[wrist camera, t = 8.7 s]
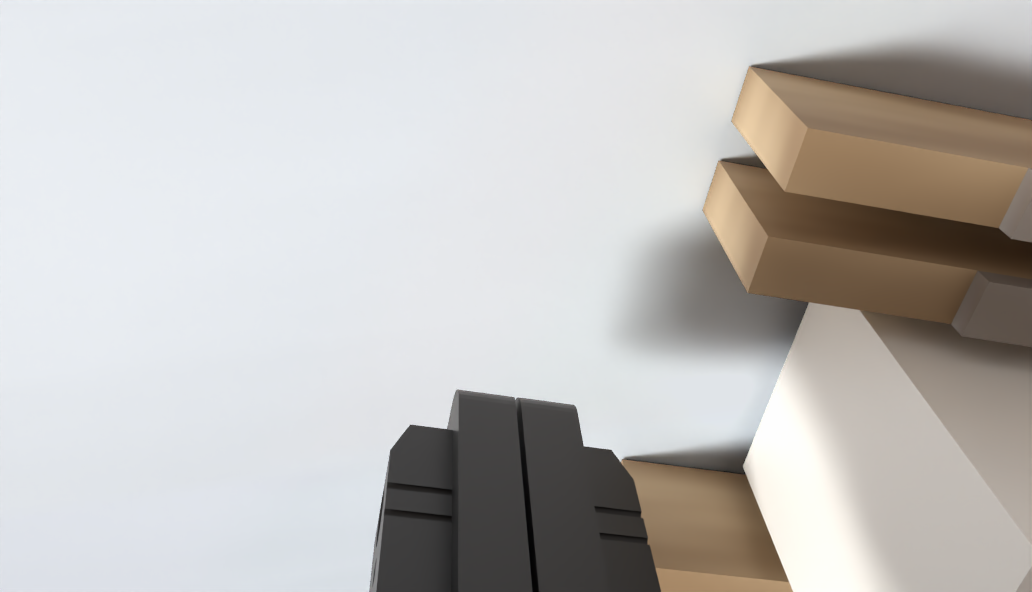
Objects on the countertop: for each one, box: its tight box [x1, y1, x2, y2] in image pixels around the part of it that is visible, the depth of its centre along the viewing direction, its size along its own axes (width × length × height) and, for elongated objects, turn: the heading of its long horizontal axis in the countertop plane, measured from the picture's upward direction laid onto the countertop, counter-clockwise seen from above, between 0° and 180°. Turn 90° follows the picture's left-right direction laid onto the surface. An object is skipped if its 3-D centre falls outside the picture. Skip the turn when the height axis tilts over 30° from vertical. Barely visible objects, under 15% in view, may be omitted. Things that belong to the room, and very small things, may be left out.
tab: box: [743, 302, 1032, 592], centre depth 12 cm, size 4×4×7 cm
